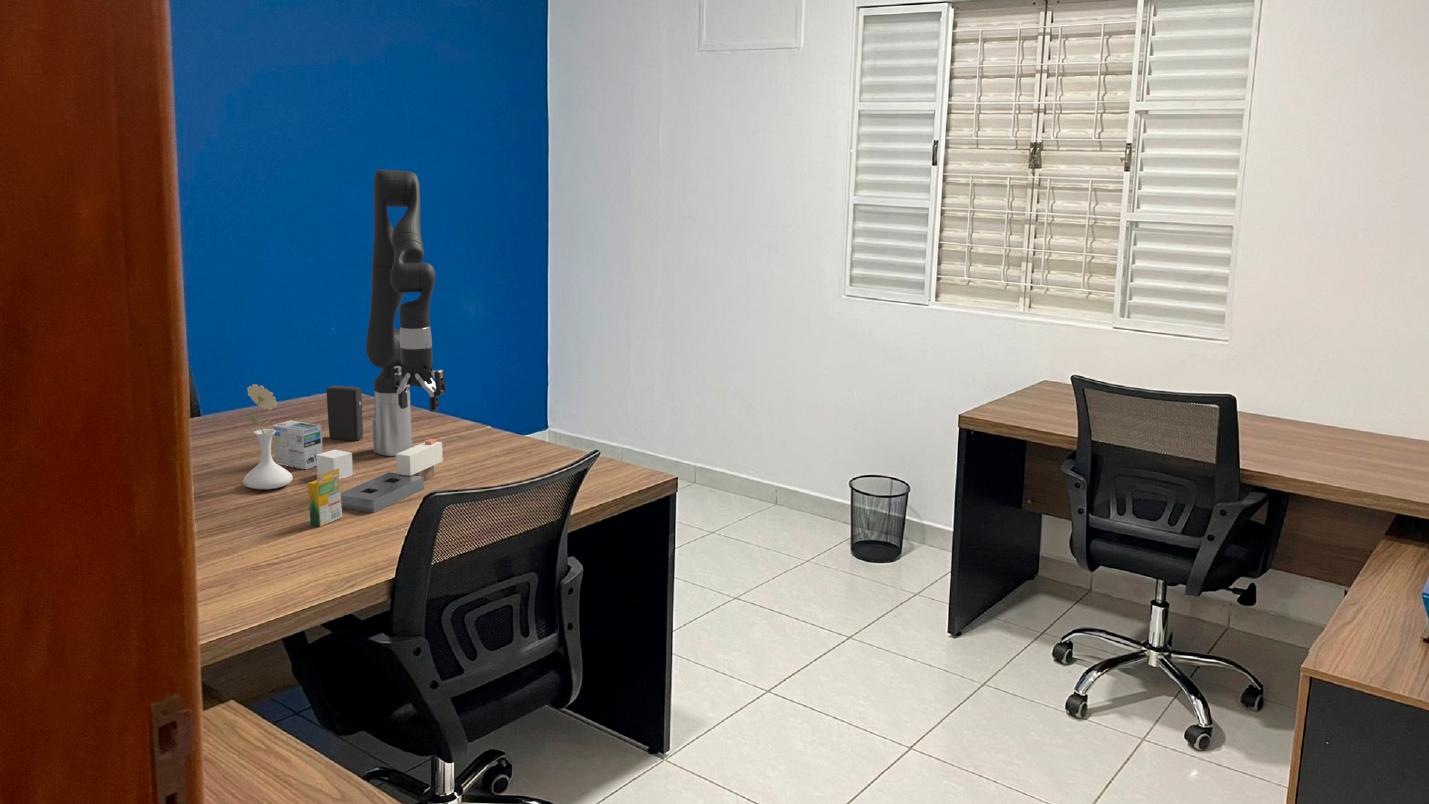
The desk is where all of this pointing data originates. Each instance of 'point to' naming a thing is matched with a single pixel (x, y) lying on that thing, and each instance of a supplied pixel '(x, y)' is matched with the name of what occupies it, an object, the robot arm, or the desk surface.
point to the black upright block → (345, 412)
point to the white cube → (335, 463)
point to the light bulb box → (297, 443)
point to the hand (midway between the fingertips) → (418, 409)
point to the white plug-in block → (419, 458)
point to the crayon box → (325, 499)
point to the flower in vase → (265, 447)
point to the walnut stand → (425, 473)
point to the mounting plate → (381, 492)
